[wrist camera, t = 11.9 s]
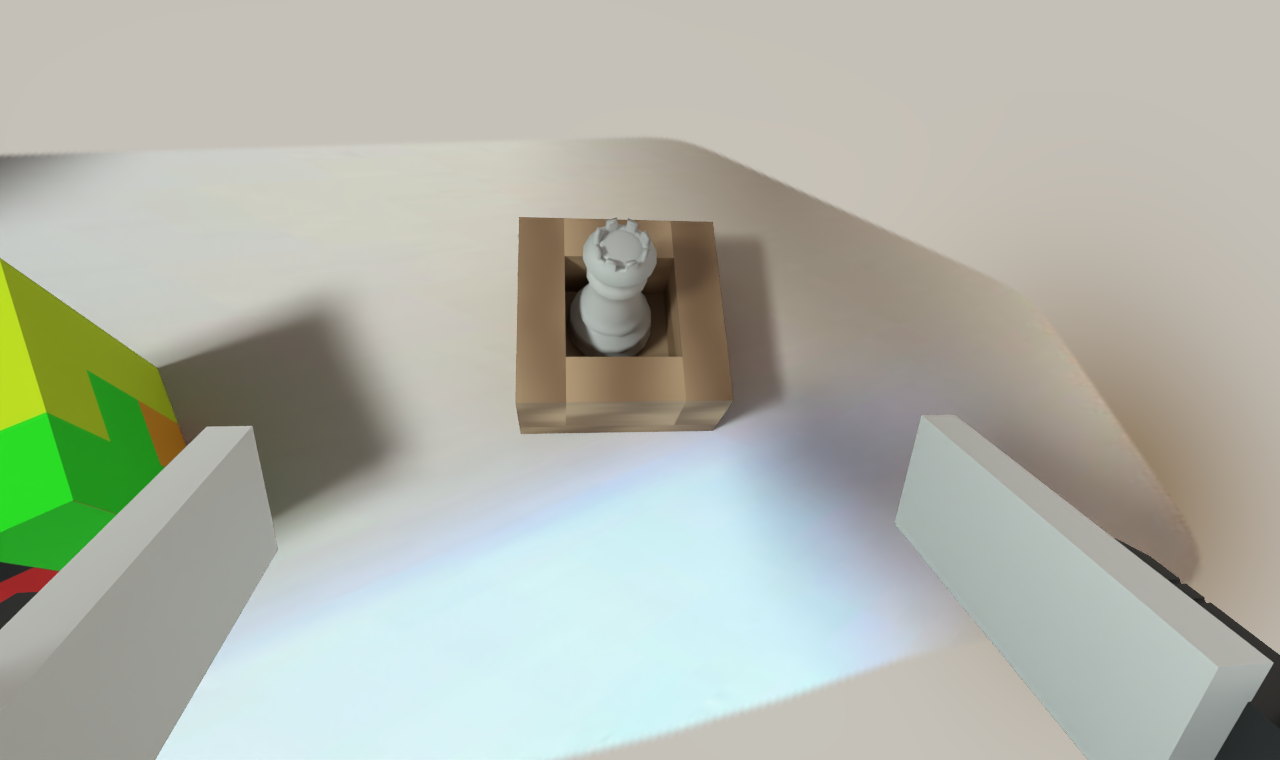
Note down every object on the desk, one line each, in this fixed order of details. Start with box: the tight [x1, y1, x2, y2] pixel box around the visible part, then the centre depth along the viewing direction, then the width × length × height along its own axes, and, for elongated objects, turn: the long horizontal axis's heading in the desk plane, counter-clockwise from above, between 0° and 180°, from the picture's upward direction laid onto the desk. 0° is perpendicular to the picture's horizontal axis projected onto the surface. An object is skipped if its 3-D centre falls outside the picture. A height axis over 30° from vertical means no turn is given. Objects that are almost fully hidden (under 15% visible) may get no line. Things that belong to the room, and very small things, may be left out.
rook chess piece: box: [567, 218, 657, 357], centre depth 31 cm, size 4×4×8 cm
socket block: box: [516, 217, 734, 434], centre depth 33 cm, size 10×10×4 cm
